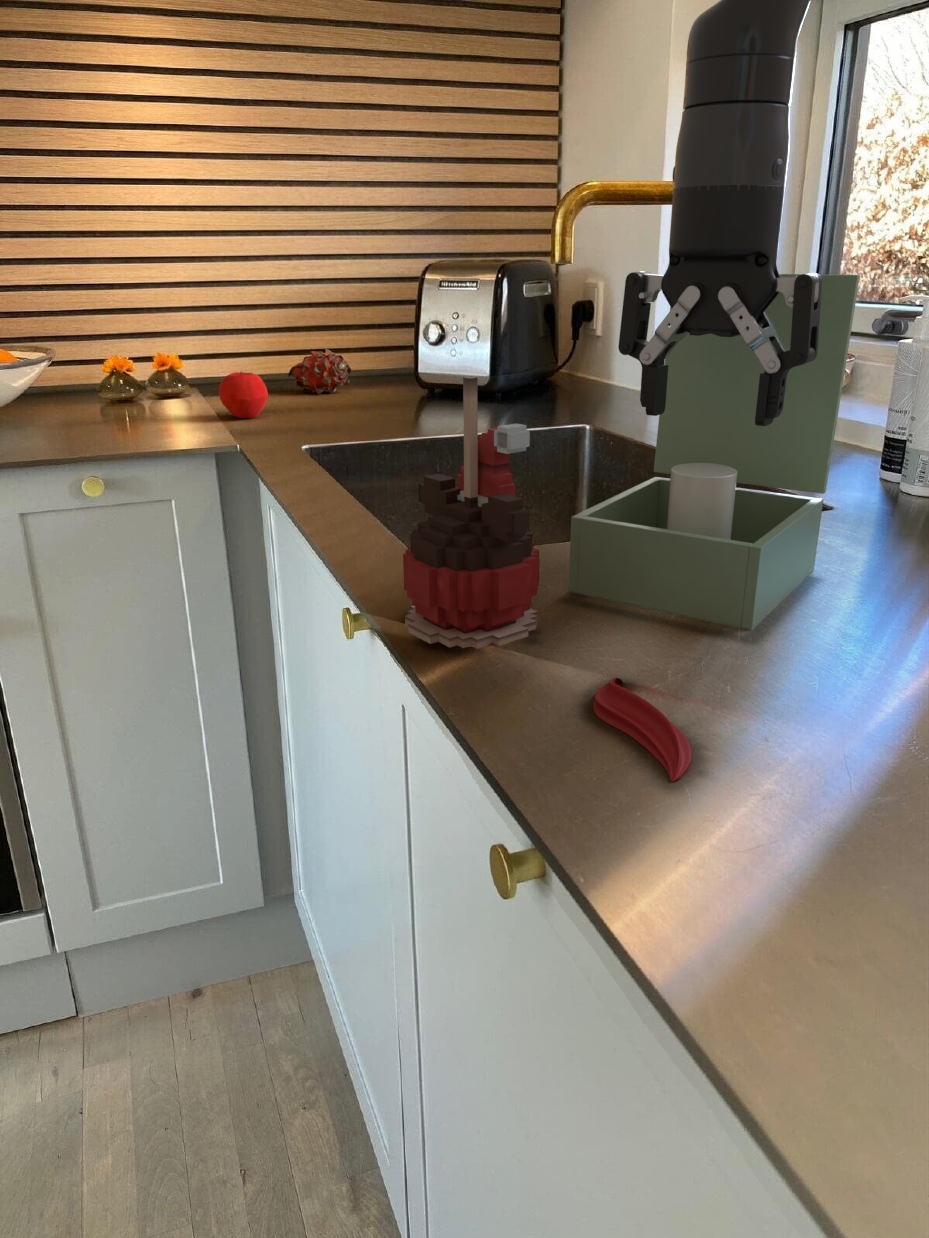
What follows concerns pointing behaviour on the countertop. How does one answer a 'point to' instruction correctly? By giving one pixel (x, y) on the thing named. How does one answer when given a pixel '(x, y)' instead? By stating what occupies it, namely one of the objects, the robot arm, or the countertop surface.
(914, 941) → the countertop surface
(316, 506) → the countertop surface
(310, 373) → the dragon fruit
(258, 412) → the apple
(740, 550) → the bin
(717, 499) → the white cylinder
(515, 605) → the cake
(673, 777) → the cayenne pepper
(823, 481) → the bin lid
